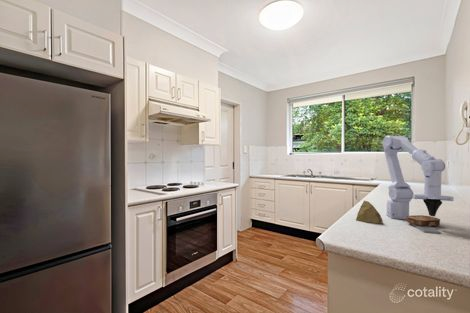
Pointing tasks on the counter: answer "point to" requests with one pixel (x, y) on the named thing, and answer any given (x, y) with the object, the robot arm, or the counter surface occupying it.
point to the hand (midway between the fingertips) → (432, 215)
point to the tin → (423, 220)
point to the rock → (368, 213)
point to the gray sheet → (426, 229)
